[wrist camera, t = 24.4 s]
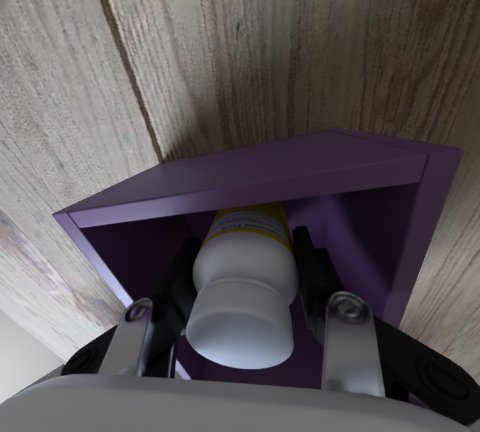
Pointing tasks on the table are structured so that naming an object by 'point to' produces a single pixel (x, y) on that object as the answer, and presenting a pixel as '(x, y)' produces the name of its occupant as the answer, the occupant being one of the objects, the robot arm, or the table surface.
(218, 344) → the supplement bottle
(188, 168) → the purple box
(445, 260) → the table surface
